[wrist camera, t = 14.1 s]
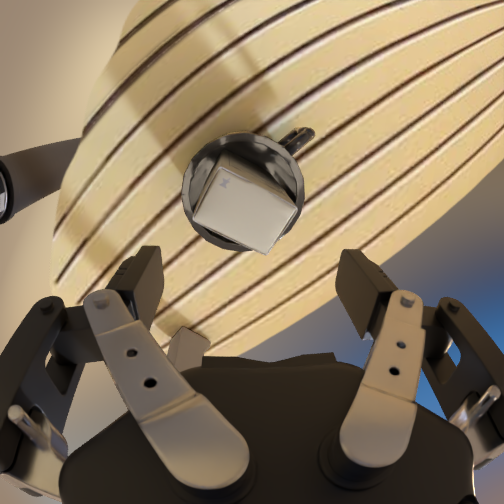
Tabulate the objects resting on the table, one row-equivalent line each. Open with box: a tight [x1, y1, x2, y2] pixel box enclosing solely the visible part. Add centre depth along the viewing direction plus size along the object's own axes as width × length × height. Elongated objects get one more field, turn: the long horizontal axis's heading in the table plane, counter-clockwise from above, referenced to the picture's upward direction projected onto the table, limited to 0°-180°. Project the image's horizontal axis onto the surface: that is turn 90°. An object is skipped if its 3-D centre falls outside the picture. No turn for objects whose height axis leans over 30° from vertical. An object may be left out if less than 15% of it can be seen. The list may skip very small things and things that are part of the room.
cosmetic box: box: [192, 149, 298, 255], centre depth 24 cm, size 6×4×12 cm
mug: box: [181, 127, 315, 252], centre depth 26 cm, size 14×10×8 cm
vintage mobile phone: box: [167, 327, 211, 372], centre depth 29 cm, size 4×5×25 cm
